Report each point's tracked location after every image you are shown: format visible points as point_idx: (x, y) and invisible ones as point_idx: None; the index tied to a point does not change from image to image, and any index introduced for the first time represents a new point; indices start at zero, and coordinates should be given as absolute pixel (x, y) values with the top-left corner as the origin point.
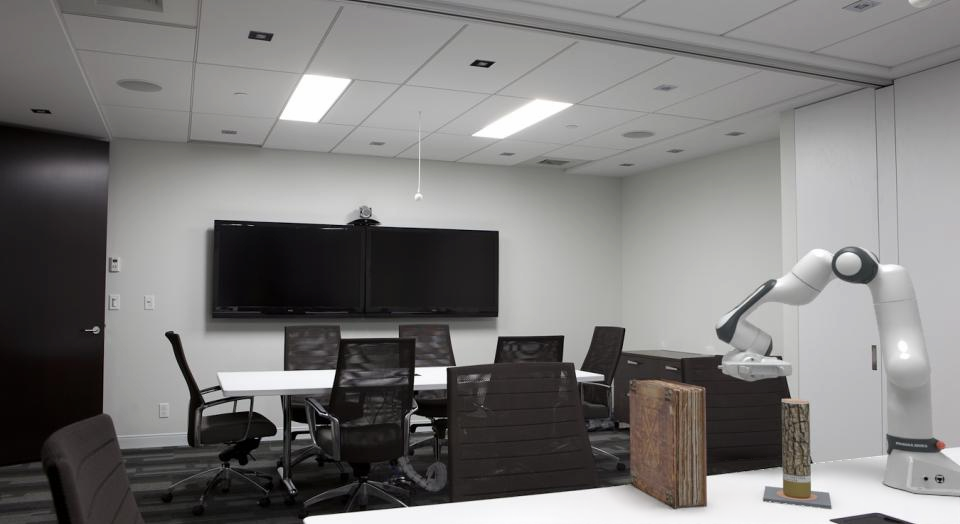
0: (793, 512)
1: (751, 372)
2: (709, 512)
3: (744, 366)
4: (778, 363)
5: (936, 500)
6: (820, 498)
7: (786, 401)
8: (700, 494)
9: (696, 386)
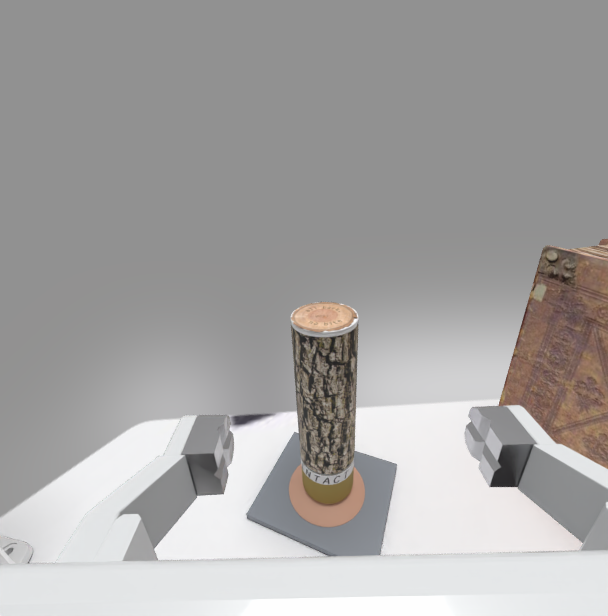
0: (359, 418)
1: (472, 434)
2: None
3: (579, 469)
4: (39, 593)
5: (57, 497)
6: (290, 469)
7: (351, 310)
8: None
9: (577, 252)
